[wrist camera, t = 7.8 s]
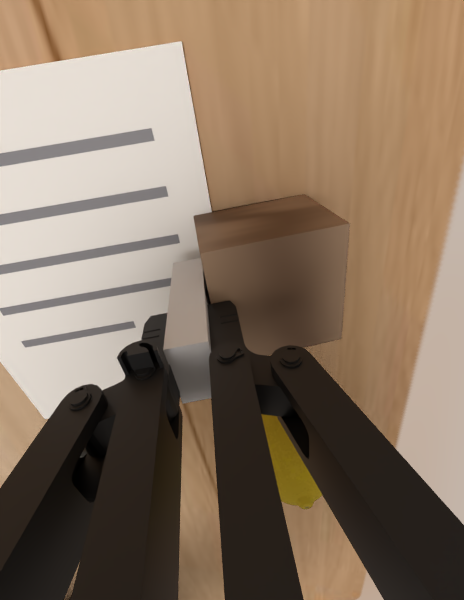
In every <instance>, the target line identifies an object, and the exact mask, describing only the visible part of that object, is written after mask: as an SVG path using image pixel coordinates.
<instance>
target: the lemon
mask: <svg viewBox="0 0 464 600" xmlns="http://www.w3.org/2000/svg"><path fill="white" fill-rule="evenodd" d="M261 415H262V419H263V424H264V428H265V432H266V437H267V441H268V446H269V450H270V454H271V459H272V463H273V468H274V472H275V476H276V481H277V485H278V490H279V494H280V498H281V501H282V502H284V503H287V504H290V505H297V506H299V507H301V508H302V509H309V508H311V507H312V505H313V503H314V501H316V500H317V499H318V498H320V497H321V496H322V493H321V491H320V490H319V488H318V486H317V485H316V483H315V481H314V480H313V478H312V476H311V474H310V473H309V471H308V469H307V468H306V466H305V464H304V462H303V461H302V459H301V457H300V456H299V454H298V452H297V451H296V449H295V447H294V445H293V444H292V442H291V440H290V439H289V437H288V435H287V434H286V432H285V430H284V428H283V427H282V425H281V423H280V422H279V420H278V418H277V416H272V415H263V414H261Z"/></svg>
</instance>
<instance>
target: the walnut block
mask: <svg viewBox="0 0 464 600" xmlns="http://www.w3.org/2000/svg"><path fill="white" fill-rule="evenodd" d="M193 217H194V223H195V229H196V234H197V240H198V246H199V252H200V257H201V261H202V266H203V270H204V275H205V279H206V284H207V288H208V293H209V298H210V302H211V304H213V303H218V302H224V301H229V300H230V301H231V302H232V303H233V304H234V305H235V306H236V309H237V313H238V318H239V322H240V326H241V331H242V335H243V339H244V344H245V346H246V347H247V349H248V350H250V351H251V352H253V353H255V354H258V355H272V354H273V352H274V351H275V350H277V349H278V348H280V347H283V346H288V345H293V346H299V347H302V348H303V347H308V346H312V345H317V344H321V343H326V342H330V341H335V340H339V339H342V325H343V311H344V297H345V283H346V269H347V255H348V241H349V227H350V223H348V222H347V221H345V220H344V219H342V218H340V217H339V216H337V215H336V214H334V213H333V212H331V211H329V210H328V209H326V208H325V207H323V206H322V205H320V204H319V203H317V202H315V201H314V200H312V199H311V198H309V197H308V196H306V195H298V196H293V197H288V198H283V199H278V200H272V201H267V202H262V203H257V204H252V205H246V206H241V207H236V208H231V209H226V210H221V211H215V212H210V213H205V214H200V215H195V216H193Z"/></svg>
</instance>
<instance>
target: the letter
mask: <svg viewBox="0 0 464 600" xmlns="http://www.w3.org/2000/svg"><path fill="white" fill-rule="evenodd" d="M210 212H212V211H211V205H210V199H209V194H208V188H207V182H206V177H205V171H204V165H203V160H202V154H201V148H200V143H199V137H198V131H197V126H196V120H195V115H194V109H193V103H192V98H191V92H190V86H189V81H188V75H187V69H186V64H185V58H184V52H183V47H182V41H180V42H174V43H168V44H162V45H155V46H149V47H143V48H137V49H131V50H125V51H118V52H112V53H106V54H100V55H94V56H88V57H81V58H75V59H69V60H63V61H57V62H51V63H44V64H38V65H32V66H26V67H20V68H14V69H7V70H1V71H0V362H1V363H2V364H3V366H4V367H5V368H6V369H7V371H8V372H9V373H10V375H11V376H12V377H13V379H14V380H15V381H16V382H17V384H18V385H19V386H20V388H21V389H22V390H23V391H24V393H25V394H26V395H27V397H28V398H29V399H30V400H31V402H32V403H33V404H34V406H35V407H36V408H37V410H38V411H39V412H40V413H41V415H42V416H43V417H44V419H48V418H50V416H51V415H52V414H53V412H54V411H55V409H56V408H57V406H58V405H59V404H60V402H61V401H62V400H63V398H64V397H65V396H66V395H67V394H68V393H70V392H71V391H72V390H74V389H75V388H78V387H80V386H82V385H87V384H94V385H97V386H99V387H100V388H101V390H104V389H106V388H108V387H111V386H113V385H115V384H117V383H119V382H121V381H123V380H124V379H125V374H124V372H123V370H122V367H121V365H120V363H119V361H118V359H117V356H118V354H119V353H120V351H121V350H123V349H124V348H125V347H126V346H128V345H130V344H131V343H134V342H137V341H141V338H142V334H143V328H144V324H145V323H146V321H147V320H148V319H149V317H150V316H153V315H158V314H163V313H167V312H168V304H169V295H170V286H171V278H172V269H173V263H176V262H182V261H187V260H193V259H198V258H201V257H200V252H199V246H198V240H197V234H196V229H195V223H194V217H193V216H195V215H200V214H205V213H210Z"/></svg>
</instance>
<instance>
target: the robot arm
mask: <svg viewBox="0 0 464 600" xmlns="http://www.w3.org/2000/svg"><path fill="white" fill-rule="evenodd" d="M117 359H118V361H119V363H120V365H121V367H122V370H123V372H124V374H125V379H124V380H123V381H121V382H119V383H117V384H115V385H113V386H111V387H108V388H106V389H104V390H101V388H100V387H99V386H97V385H94V384H87V385H82V386H80V387H78V388H75V389H74V390H72V391H71V392H70V393H68V394H67V395H66V396H65V397H64V398H63V400H62V401H61V402H60V404H59V405H58V406H57V408H56V409H55V411H54V412H53V414H52V415H51V416H50V418H49V419H48V421H47V422H46V424H45V425H44V426H43V428H42V429H41V431H40V432H39V434H38V435H37V436H36V438H35V439H34V441H33V442H32V444H31V445H30V446H29V448H28V449H27V451H26V452H25V454H24V455H23V456H22V458H21V459H20V461H19V462H18V464H17V465H16V466H15V468H14V469H13V471H12V472H11V474H10V475H9V476H8V478H7V479H6V481H5V482H4V484H3V485H2V486H1V488H0V600H64V598H65V595H66V593H67V590H68V588H69V586H70V583H71V581H72V579H73V576H74V574H75V571H76V569H77V567H78V564H79V562H80V564H79V568H78V572H77V576H76V580H75V585H74V589H73V593H72V597H71V599H70V600H178V576H179V537H180V497H181V457H182V417H183V416H182V412H181V409H180V406H179V400H180V397H181V400H182V403H188V402H193V401H199V400H204V399H209V398H211V400H212V415H213V430H214V445H215V459H216V474H217V489H218V504H219V519H220V533H221V548H222V563H223V578H224V593H225V600H304V599H303V595H302V591H301V586H300V582H299V577H298V573H297V569H296V564H295V560H294V555H293V551H292V547H291V542H290V538H289V533H288V529H287V525H286V520H285V516H284V512H283V507H282V503H281V498H280V494H279V490H278V485H277V481H276V476H275V472H274V468H273V463H272V459H271V454H270V450H269V446H268V441H267V437H266V432H265V428H264V424H263V419H262V415H261V414H263V415H272V416H277V418H278V420H279V422H280V423H281V425H282V427H283V428H284V430H285V432H286V434H287V435H288V437H289V439H290V440H291V442H292V444H293V445H294V447H295V449H296V451H297V452H298V454H299V456H300V457H301V459H302V461H303V462H304V464H305V466H306V468H307V469H308V471H309V473H310V474H311V476H312V478H313V480H314V481H315V483H316V485H317V486H318V488H319V490H320V491H321V493H322V495H323V497H324V498H325V500H326V502H327V503H328V505H329V507H330V508H331V510H332V512H333V514H334V515H335V517H336V519H337V520H338V522H339V524H340V526H341V527H342V529H343V531H344V532H345V534H346V536H347V537H348V539H349V541H350V543H351V544H352V546H353V548H354V549H355V551H356V553H357V554H358V556H359V558H360V560H361V561H362V563H363V565H364V566H365V568H366V570H367V572H368V573H369V575H370V577H371V578H372V580H373V582H374V583H375V585H376V587H377V589H378V590H379V592H380V594H381V595H382V597H383V599H384V600H464V525H463V524H462V523H461V522H460V520H459V519H458V518H457V517H456V516H455V515H454V514H453V513H452V511H451V510H450V509H449V508H448V507H447V506H446V505H445V504H444V503H443V501H441V499H440V498H439V497H438V496H437V495H436V494H435V493H434V491H433V490H432V489H431V488H430V487H429V486H428V485H427V484H426V482H425V481H424V480H423V479H422V478H421V477H420V476H419V475H418V473H417V472H416V471H415V470H414V469H413V468H412V467H411V466H410V464H409V463H408V462H407V461H406V460H405V459H404V458H403V457H402V456H401V455H400V454H399V452H398V451H397V450H396V449H395V448H394V447H393V445H392V444H391V443H390V442H389V441H388V440H387V439H386V438H385V437H384V435H383V434H382V433H381V432H380V431H379V430H378V429H377V428H376V426H375V425H374V424H373V423H372V422H371V421H370V420H369V419H368V418H367V416H366V415H365V414H364V413H363V412H362V411H361V410H360V409H359V407H358V406H357V405H356V404H355V403H354V402H353V401H352V400H351V399H350V397H349V396H348V395H347V394H346V393H345V392H344V391H343V390H342V388H341V387H340V386H339V385H338V384H337V383H336V382H335V381H334V380H333V378H332V377H331V376H330V375H329V374H328V373H327V372H326V371H325V369H324V368H323V367H322V366H321V365H320V364H319V363H318V362H317V361H316V359H315V358H314V357H313V356H312V355H311V354H310V353H309V352H308V351H307V350H305V349H304V348H302V347H299V346H293V345H288V346H283V347H280V348H278V349H277V350H275V351H274V352H273V354H272V355H271V356H267V355H258V354H255V353H253V352H251V351H250V350H248V349H247V347H246V346H245V344H244V339H243V335H242V331H241V326H240V322H239V318H238V313H237V309H236V306H235V305H234V304H233V303H232V302H231V301H230V300H229V301H224V302H218V303H213V304H211V302H210V298H209V293H208V288H207V284H206V279H205V275H204V270H203V266H202V261H201V258H198V259H193V260H187V261H182V262H176V263H173V269H172V278H171V286H170V295H169V304H168V312H167V313H163V314H158V315H153V316H150V317H149V319H148V320H147V321H146V323H145V324H144V328H143V334H142V338H141V341H137V342H134V343H131V344H130V345H128V346H126V347H125V348H124V349H123V350H121V351H120V353H119V354H118V356H117Z"/></svg>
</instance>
